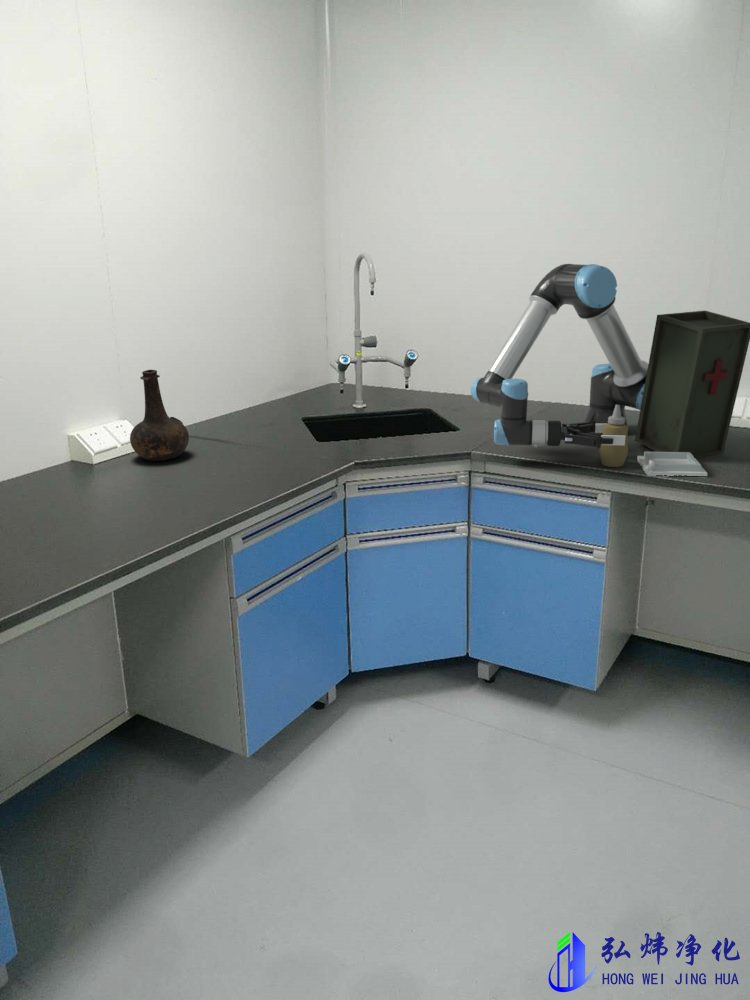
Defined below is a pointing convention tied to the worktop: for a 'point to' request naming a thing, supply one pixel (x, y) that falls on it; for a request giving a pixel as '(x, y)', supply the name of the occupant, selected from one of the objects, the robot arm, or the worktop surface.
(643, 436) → the first aid box
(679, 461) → the holder plate
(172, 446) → the glass bottle
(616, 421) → the squeeze bottle
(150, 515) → the worktop surface
